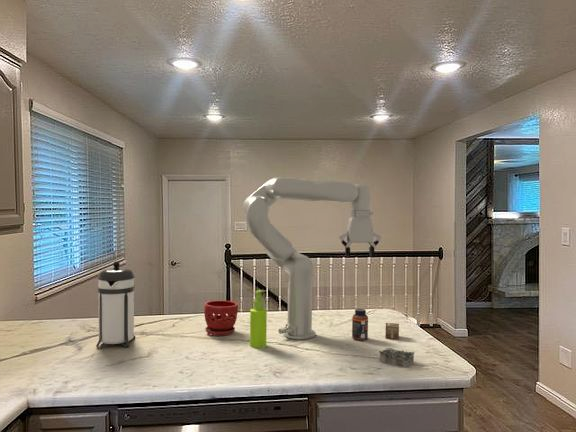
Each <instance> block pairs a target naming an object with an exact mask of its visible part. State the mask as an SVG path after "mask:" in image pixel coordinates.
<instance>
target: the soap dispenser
mask: <svg viewBox="0 0 576 432" xmlns="http://www.w3.org/2000/svg"><path fill="white" fill-rule="evenodd" d="M264 292H266V290H264V289H257V290H255V291H254V294H255V295H256V296H255V299H254V300H253V308H250V311H249V312H250V314H249V315H250V316H249V319H250V320H249V324H250V325H249V326H250V328H249V329H250V330H249V331H250V332H249V346H250V348H254V349H264V348H265V347H267V322H268V321H267V318H268V317H267V315H268V314H267V312H268V311H267V308H264V299H262V293H264Z"/></svg>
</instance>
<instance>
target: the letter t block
mask: <svg viewBox="0 0 576 432" xmlns="http://www.w3.org/2000/svg"><path fill="white" fill-rule="evenodd" d="M399 335H400V323H393V322H385V335H384V337H385V339H387V340H400V336H399Z"/></svg>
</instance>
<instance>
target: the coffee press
mask: <svg viewBox="0 0 576 432" xmlns="http://www.w3.org/2000/svg"><path fill="white" fill-rule="evenodd" d="M96 278H97V281H98V287H97V293H98V342H97V343H96V345H95V346H96V348H97V349H100V350H101V349H102V348H103V347H104V345H106V344H108V345H115V344H116V345H117V344H122V345H123V347H124V348H125V349H126V348H130V345H131V344H130V341H131V340H132V341H135V339H136V335H135V289H136V287H135V285H136V284H135V278H136V275H135V274H134V271H133V270H131V268H127V267H126V268H125V267H120V262H119V261H114V262H113V264H112V267H110V268H105V269H103V270H101V271H100V272H99V273H98V276H97V277H96Z"/></svg>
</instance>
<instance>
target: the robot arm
mask: <svg viewBox="0 0 576 432" xmlns="http://www.w3.org/2000/svg"><path fill="white" fill-rule="evenodd" d="M278 200H289V201H290V200H291V201H307V202H318V201H319V202H320V201H322V202H323V201H326V202H329V201H330V202H331V201H332V202H339V203H350V204H351V205H350V208H351V210H350V217H348V222H347V227H346V232H344V233H342V234H341V235H339V236H338V239H339V240H340V243H341V244H342V245H343V246H344V247H345V248H344V249H345V250H344V252H345V253H344V255H345V256H346V257H347V258H350V257H351V247H350V246H351V245H352V244H360V243H361V244H363V243H364V244H366V243H367V244H368V245H370V246H369V247H368V256H369V257H370V258H374V256H375V248H376V247H377V245H378V244H379V242H380V241H381V239H382V236H381V235H379V234H377V233H375V232H374V227H373V226H374V225H373V219H372V218H371V217H372V216H374V212H373V211H371V186H370V185H369V184H367V183H365V184H364V183H356V184H354V183H352V182H349V181H347V182H346V181H331V180H323V179H322V180H321V179H315V178H314V179H313V178H310V179H309V178H298V177H286V176H285V177H284V176H277V177H273V178H270V179H269V180H267V181H266V182H265V183H264V184H263V185H261V186H260V187H259V188H258V189H256V191H253V193H251V195H249V196H248V197H246V199H245V200H244V202H243V211H244V213H245V214H246V216H245V217H246V218H245V219H246V225H247V229H248V231H249V233H250V235H251V236H252V237H253V238H254V239H255V240H256V241H257V242H258V243H259V245H260V246H262V247H263V248H264V251H265V254H266V255H267V256H268V257H269V258H270V259H271V260H272V261H273V262H274V263H275V264H277V265H278V267H279V268H281V269H282V270H283V271H284V272H285V273H286V274H288V275H289V276H288V284H287V323H286V324H285V327H282V328H278V334H280V335H282V334H283V336H284V337H285V338H288V339H293V340H310V339H312V338H315V337H316V331H315V330H314V329H313V328H312V327H313V325H312V322H313V321H312V317H313V314H312V313H313V281H314V274H315V266H314V263H313V261H312V259H311V258H310V257H308V256H307V255H304V254H302V253H300V252H299V251H297V249H295V247H294V246H293V244H292V242H291V240H289V239H288V237H286V236H285V235H284V234H283V233H281V232H280V231H279V230H278V229H277V228H276V227H275V226H274V224H272V223H271V221H270V218H269V212H270V211H269V210H270V207H272V205H274V204H275V203H276V202H277V201H278ZM344 238H346V241H345V239H344ZM374 238H376V239H375V240H374Z"/></svg>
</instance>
